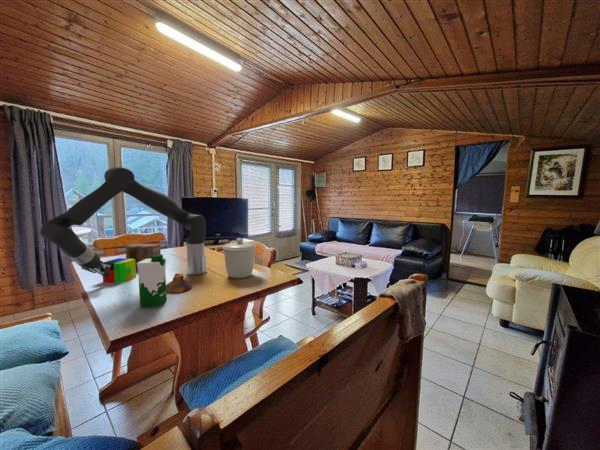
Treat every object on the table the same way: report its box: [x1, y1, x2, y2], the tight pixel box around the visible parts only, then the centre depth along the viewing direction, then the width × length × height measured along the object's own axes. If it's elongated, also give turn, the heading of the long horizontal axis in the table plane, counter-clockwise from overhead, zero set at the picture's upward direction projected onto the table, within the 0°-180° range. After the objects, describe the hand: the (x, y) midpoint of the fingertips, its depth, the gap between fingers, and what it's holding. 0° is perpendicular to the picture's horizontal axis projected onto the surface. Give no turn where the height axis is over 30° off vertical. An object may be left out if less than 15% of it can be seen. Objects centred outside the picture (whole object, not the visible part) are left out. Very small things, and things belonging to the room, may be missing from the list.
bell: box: [166, 273, 193, 294], centre depth 122 cm, size 12×12×7 cm
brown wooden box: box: [125, 243, 161, 268], centre depth 155 cm, size 16×8×14 cm, turn 90°
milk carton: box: [136, 254, 168, 309], centre depth 104 cm, size 9×9×20 cm
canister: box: [222, 237, 257, 279], centre depth 143 cm, size 18×18×21 cm
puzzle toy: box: [102, 257, 137, 284], centre depth 134 cm, size 10×10×10 cm
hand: (107, 275), depth 126 cm, fingers closed
